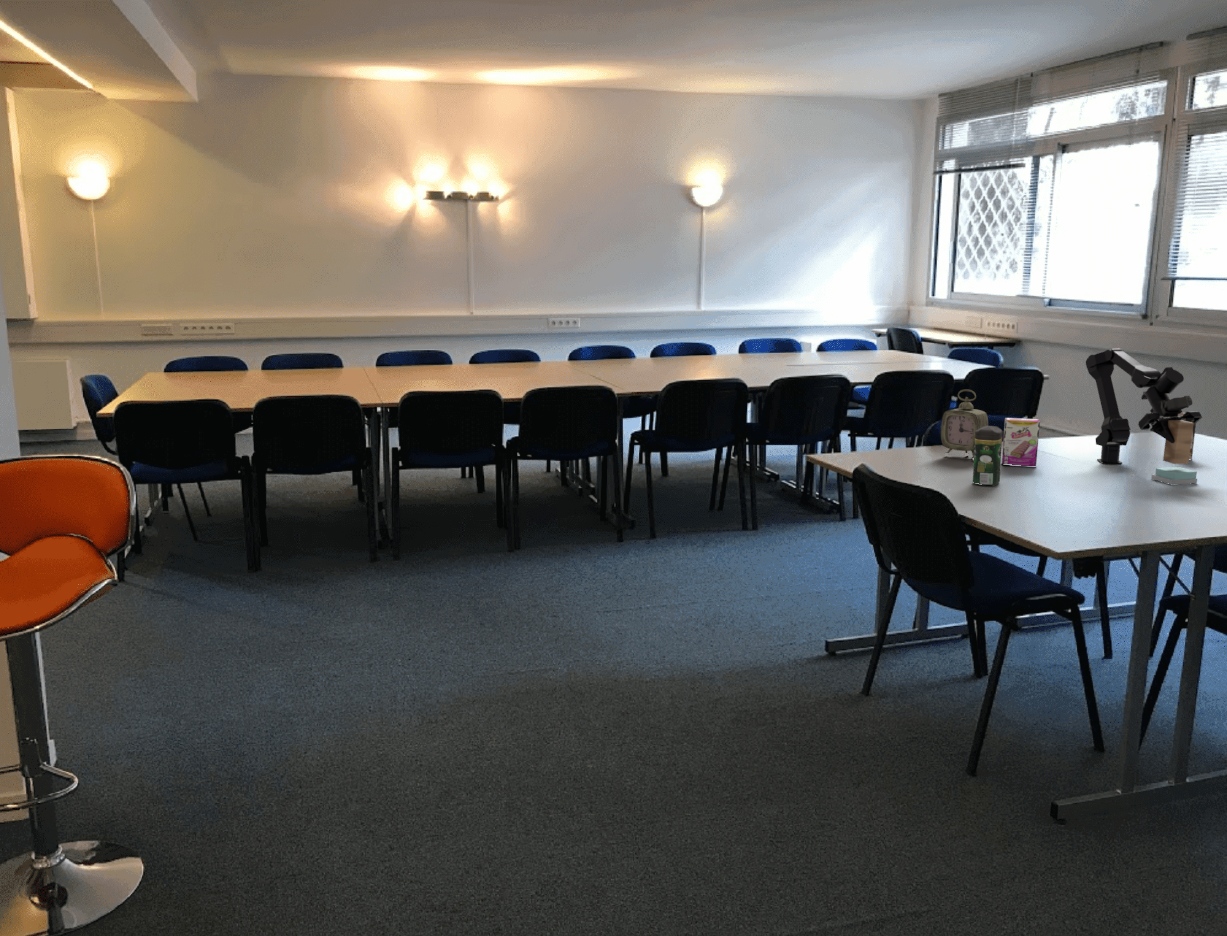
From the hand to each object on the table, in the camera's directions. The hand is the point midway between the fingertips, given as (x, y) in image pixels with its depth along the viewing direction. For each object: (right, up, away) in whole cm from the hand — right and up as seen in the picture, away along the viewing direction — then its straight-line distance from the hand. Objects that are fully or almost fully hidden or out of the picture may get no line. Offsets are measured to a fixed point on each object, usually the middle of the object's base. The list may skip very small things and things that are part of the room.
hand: (1181, 442), depth 307 cm
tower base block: (0, -13, +4) cm, 14 cm away
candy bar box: (-38, -8, +32) cm, 50 cm away
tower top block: (0, -11, +3) cm, 11 cm away
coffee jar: (-59, -13, +6) cm, 61 cm away
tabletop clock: (-52, -5, +47) cm, 70 cm away
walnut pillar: (0, -6, +3) cm, 7 cm away
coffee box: (+22, -5, +40) cm, 46 cm away
